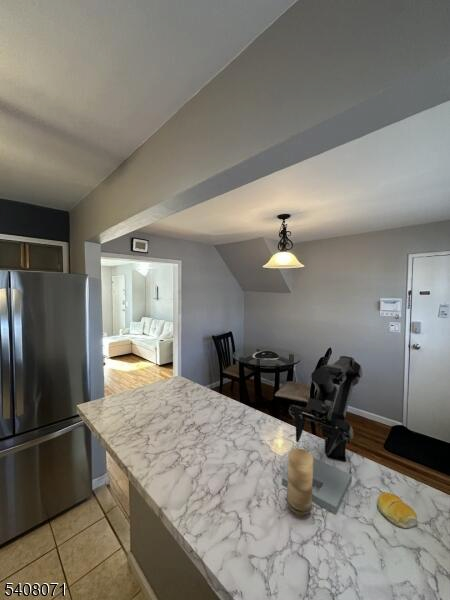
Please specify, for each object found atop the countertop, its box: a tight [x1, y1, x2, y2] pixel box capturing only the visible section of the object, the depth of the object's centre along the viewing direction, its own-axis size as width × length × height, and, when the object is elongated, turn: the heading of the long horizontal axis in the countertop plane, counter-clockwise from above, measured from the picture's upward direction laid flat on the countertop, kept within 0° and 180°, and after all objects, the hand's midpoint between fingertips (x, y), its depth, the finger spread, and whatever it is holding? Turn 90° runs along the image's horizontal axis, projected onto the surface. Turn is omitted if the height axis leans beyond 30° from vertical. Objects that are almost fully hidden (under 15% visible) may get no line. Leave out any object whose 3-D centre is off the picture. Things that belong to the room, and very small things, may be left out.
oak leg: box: [286, 448, 314, 517], centre depth 68 cm, size 6×6×15 cm
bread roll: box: [376, 492, 418, 529], centre depth 68 cm, size 8×9×4 cm
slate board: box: [281, 457, 353, 515], centre depth 78 cm, size 16×16×2 cm
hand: (311, 448), depth 74 cm, fingers open, 9 cm apart
